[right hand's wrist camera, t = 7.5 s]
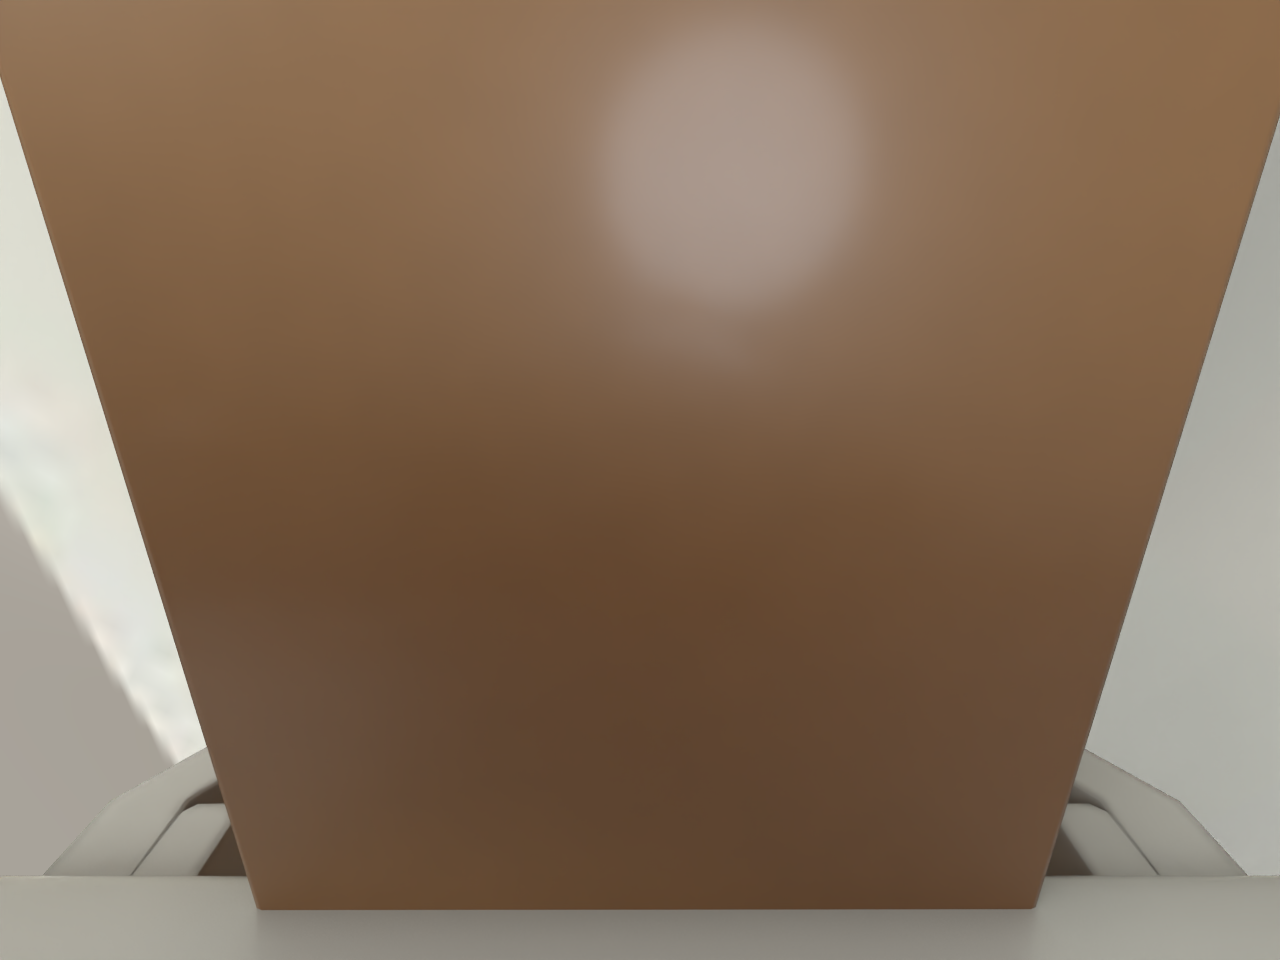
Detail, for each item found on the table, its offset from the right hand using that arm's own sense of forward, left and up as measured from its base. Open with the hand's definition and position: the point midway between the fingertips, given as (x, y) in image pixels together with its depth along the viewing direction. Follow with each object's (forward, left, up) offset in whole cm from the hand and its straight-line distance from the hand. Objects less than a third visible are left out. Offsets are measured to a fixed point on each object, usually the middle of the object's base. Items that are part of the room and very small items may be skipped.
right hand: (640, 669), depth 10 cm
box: (+10, 0, -7) cm, 12 cm away
